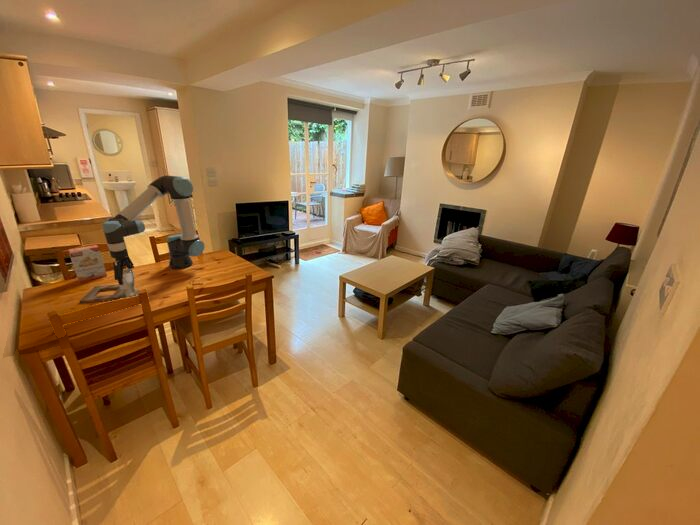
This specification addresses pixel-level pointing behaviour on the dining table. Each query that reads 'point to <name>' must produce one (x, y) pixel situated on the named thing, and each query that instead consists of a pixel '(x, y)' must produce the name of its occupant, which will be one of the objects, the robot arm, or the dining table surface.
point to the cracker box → (87, 263)
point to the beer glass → (129, 283)
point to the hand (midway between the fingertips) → (128, 283)
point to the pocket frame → (92, 296)
